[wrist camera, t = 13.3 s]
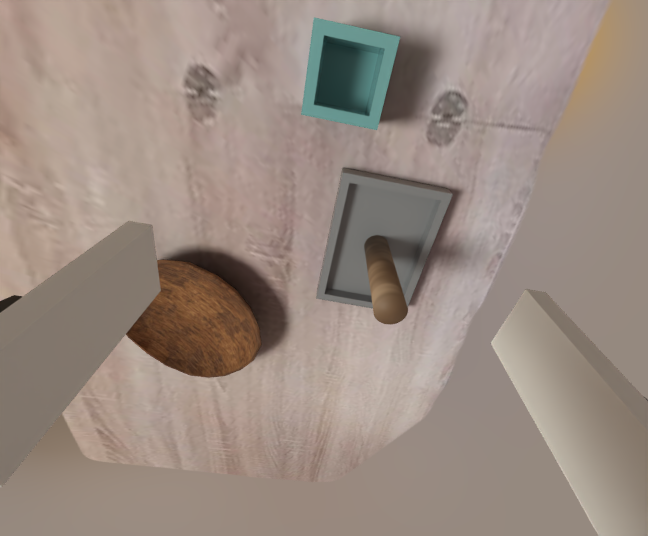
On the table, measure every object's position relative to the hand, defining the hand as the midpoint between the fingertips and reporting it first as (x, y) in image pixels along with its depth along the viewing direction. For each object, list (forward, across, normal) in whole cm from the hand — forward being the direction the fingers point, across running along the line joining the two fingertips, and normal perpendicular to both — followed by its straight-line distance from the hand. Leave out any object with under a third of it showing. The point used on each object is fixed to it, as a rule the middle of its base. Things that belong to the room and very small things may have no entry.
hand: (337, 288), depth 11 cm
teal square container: (+29, 0, +6) cm, 30 cm away
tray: (+29, +8, -12) cm, 32 cm away
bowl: (+29, -16, -28) cm, 43 cm away
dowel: (+28, +8, -12) cm, 31 cm away
